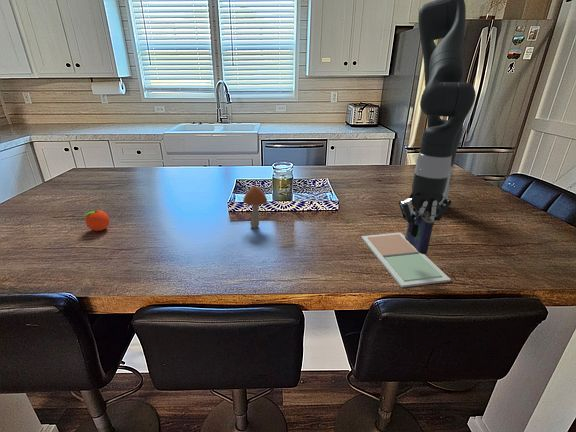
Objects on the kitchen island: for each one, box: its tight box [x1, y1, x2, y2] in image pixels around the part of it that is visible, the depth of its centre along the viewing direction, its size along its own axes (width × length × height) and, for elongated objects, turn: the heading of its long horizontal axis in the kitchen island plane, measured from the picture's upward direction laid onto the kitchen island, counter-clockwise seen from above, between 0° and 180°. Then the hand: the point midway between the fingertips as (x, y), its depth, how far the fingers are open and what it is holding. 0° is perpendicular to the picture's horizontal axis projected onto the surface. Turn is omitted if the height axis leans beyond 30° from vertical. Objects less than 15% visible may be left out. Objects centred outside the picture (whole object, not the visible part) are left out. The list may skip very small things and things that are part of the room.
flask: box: [404, 209, 435, 255], centre depth 82 cm, size 9×3×11 cm, turn 8°
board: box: [360, 232, 451, 288], centre depth 93 cm, size 14×26×1 cm, turn 11°
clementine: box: [81, 209, 111, 232], centre depth 106 cm, size 8×7×7 cm
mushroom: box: [242, 185, 268, 229], centre depth 107 cm, size 8×8×15 cm
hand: (418, 234), depth 83 cm, fingers closed on flask, 3 cm apart
